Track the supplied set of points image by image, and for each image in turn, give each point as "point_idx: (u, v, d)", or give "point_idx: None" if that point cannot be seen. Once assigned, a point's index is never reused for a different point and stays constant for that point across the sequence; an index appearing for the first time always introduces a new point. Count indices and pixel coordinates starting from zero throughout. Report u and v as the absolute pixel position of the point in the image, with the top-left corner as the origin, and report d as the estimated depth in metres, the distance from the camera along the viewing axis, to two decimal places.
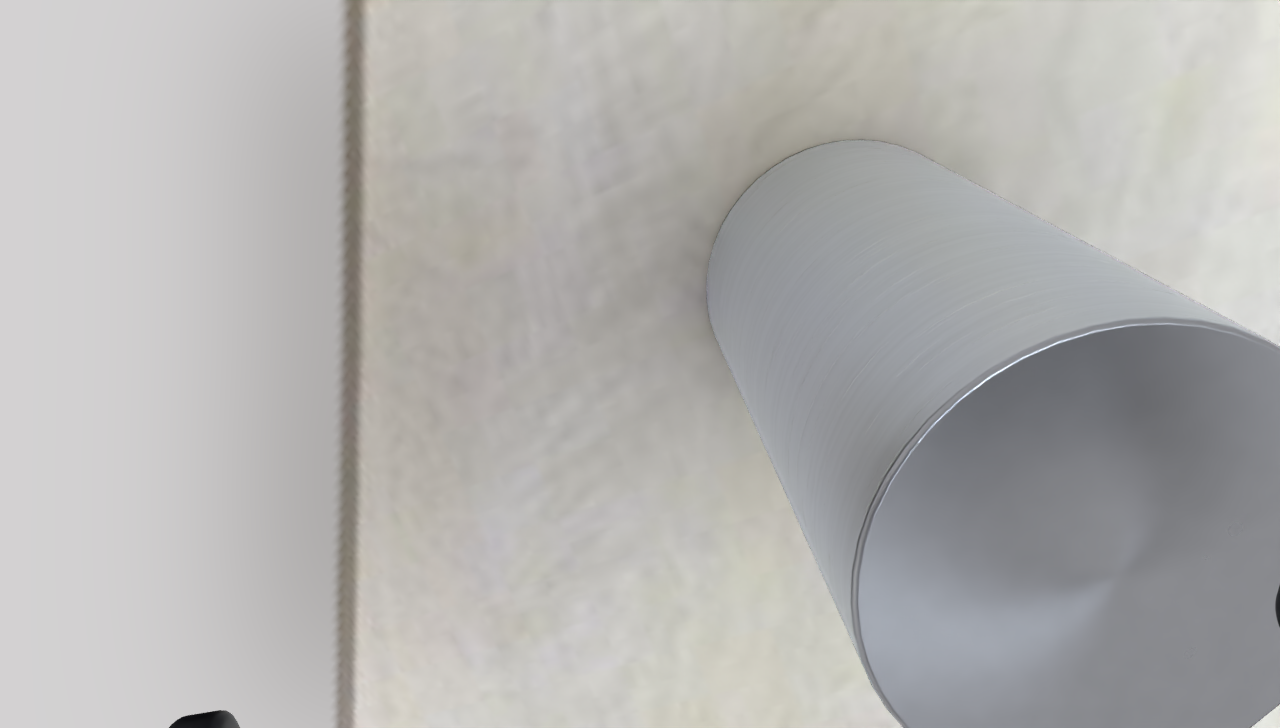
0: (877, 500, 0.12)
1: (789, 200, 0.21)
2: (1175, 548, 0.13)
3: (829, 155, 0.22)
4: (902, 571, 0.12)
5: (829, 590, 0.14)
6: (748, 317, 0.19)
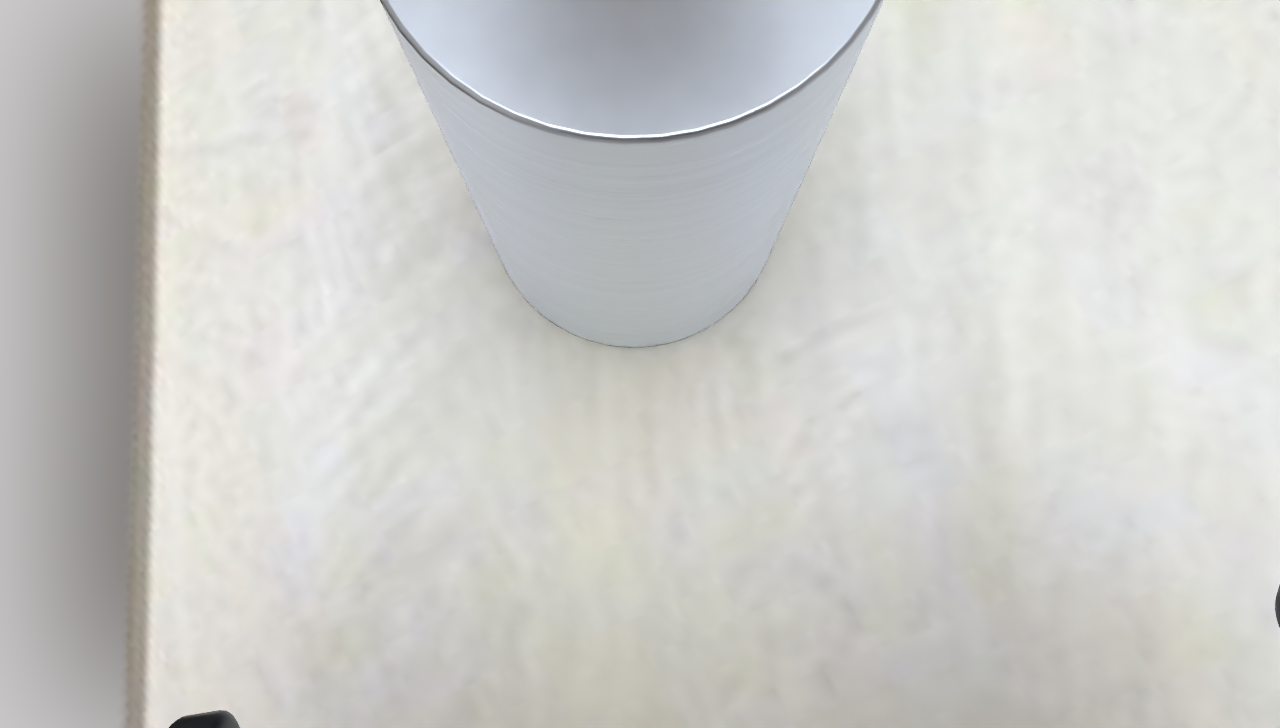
0: None
1: None
2: None
3: None
4: None
5: (410, 64, 0.14)
6: None
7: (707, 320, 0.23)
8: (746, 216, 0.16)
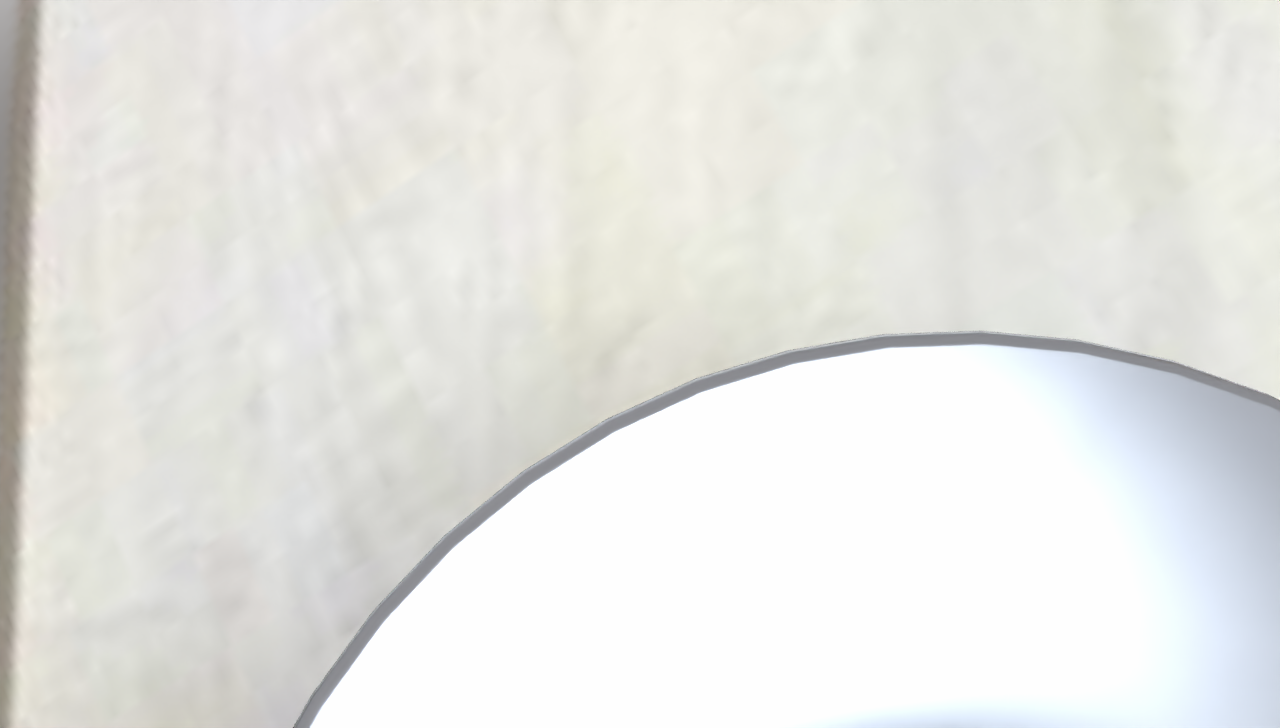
0: None
1: None
2: None
3: None
4: None
5: None
6: None
7: None
8: None
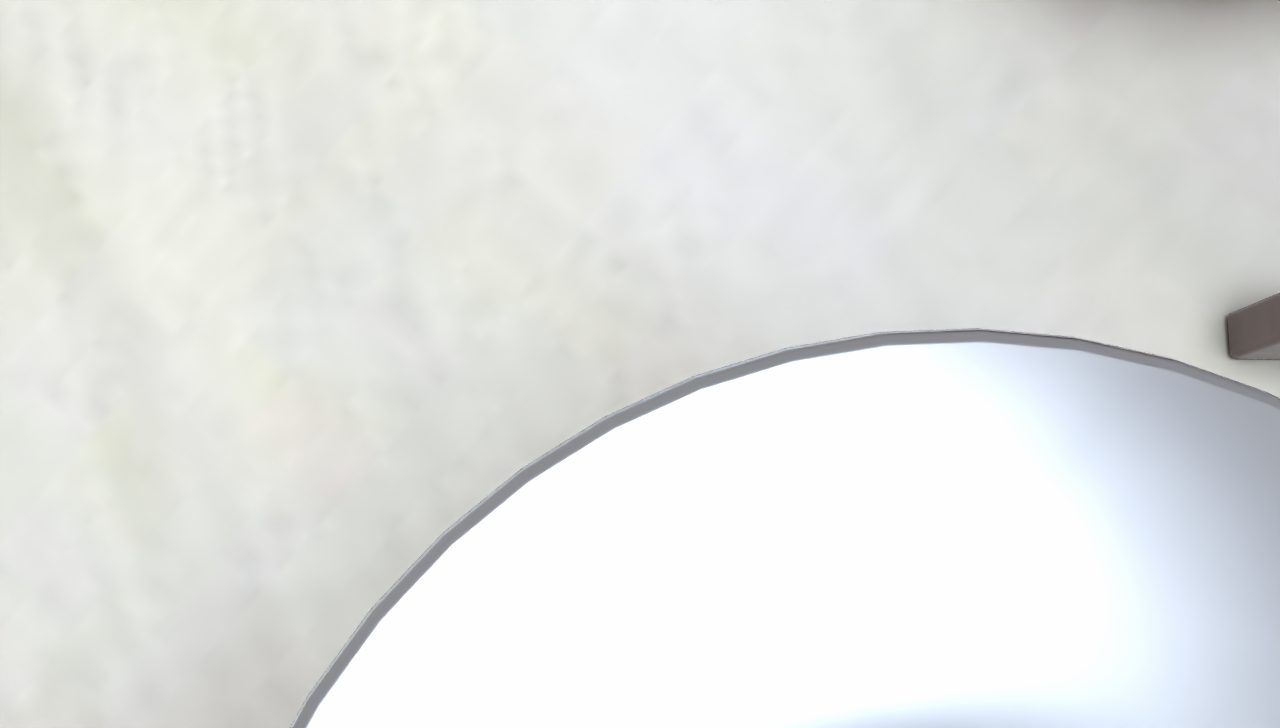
0: None
1: None
2: None
3: None
4: None
5: None
6: None
7: None
8: None
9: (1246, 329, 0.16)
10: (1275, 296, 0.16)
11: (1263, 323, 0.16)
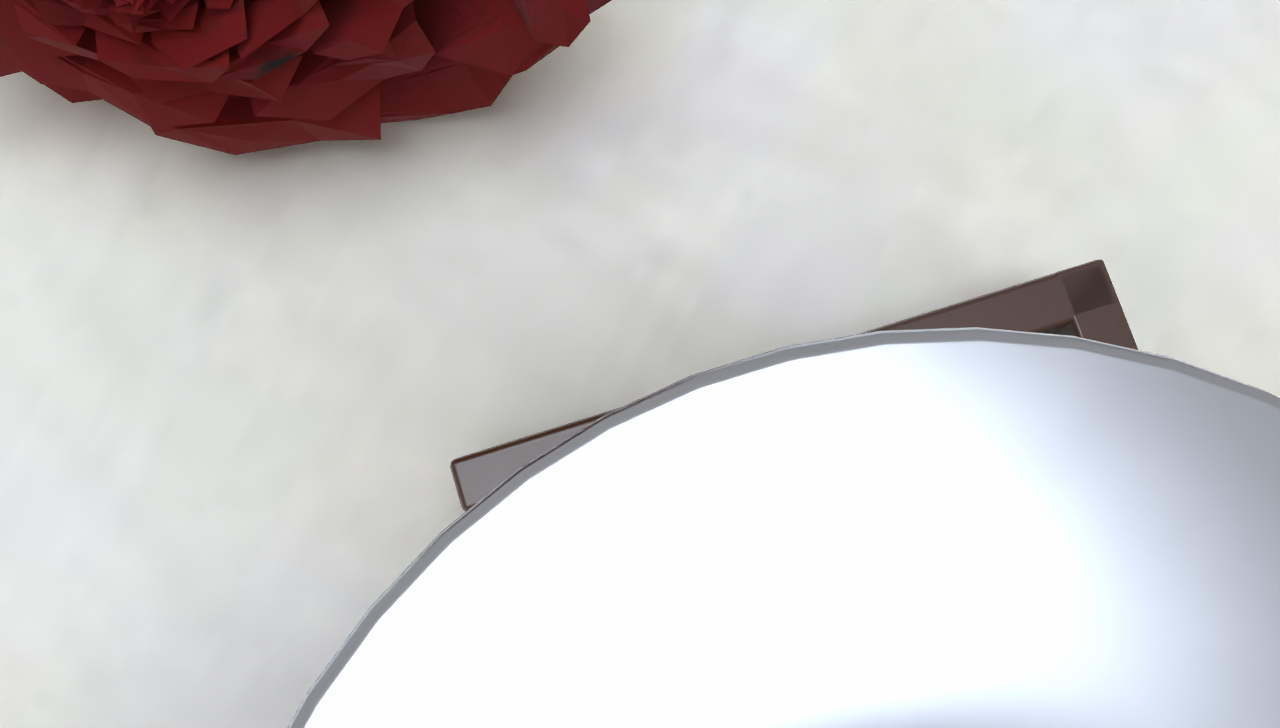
0: None
1: None
2: None
3: None
4: None
5: None
6: None
7: None
8: None
9: None
10: None
11: None
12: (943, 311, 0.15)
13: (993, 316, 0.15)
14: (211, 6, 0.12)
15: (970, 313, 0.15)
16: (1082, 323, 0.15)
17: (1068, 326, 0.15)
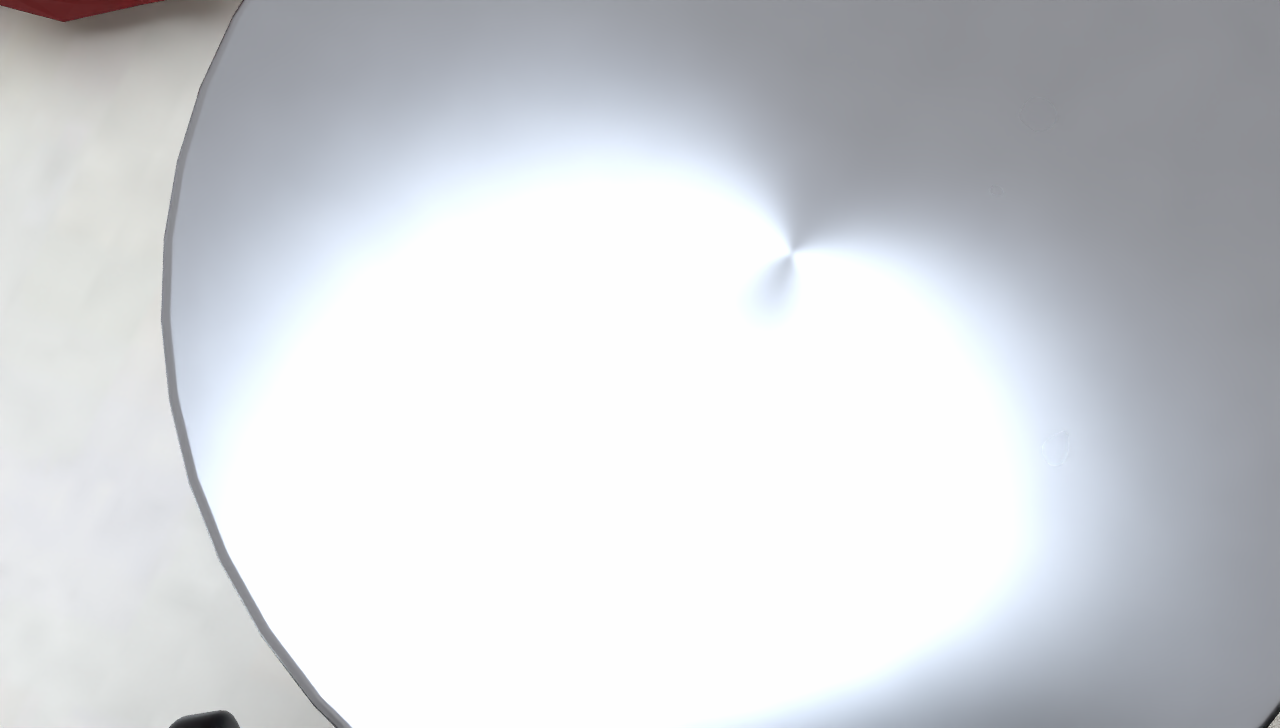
0: (186, 131, 0.06)
1: None
2: (909, 174, 0.05)
3: None
4: (270, 297, 0.05)
5: None
6: None
7: None
8: None
9: None
10: None
11: None
12: None
13: None
14: None
15: None
16: None
17: None
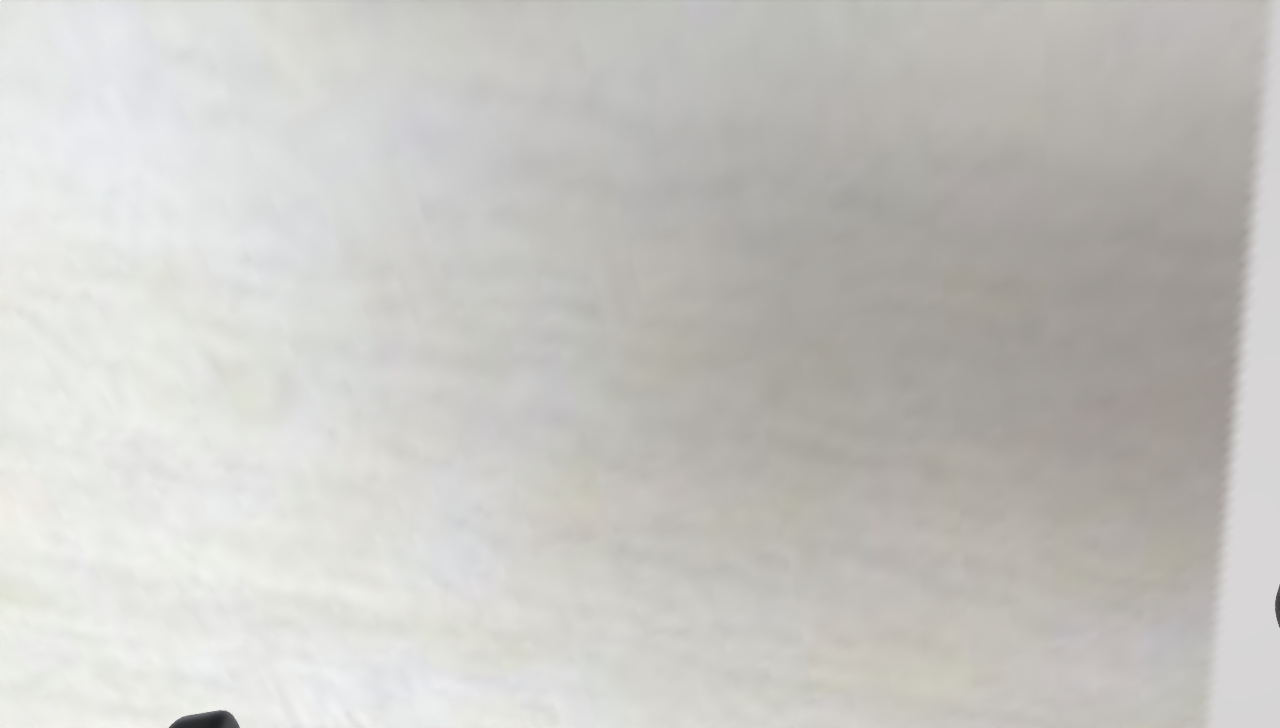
0: None
1: None
2: None
3: None
4: None
5: None
6: None
7: None
8: None
9: None
10: None
11: None
12: None
13: None
14: None
15: None
16: None
17: None
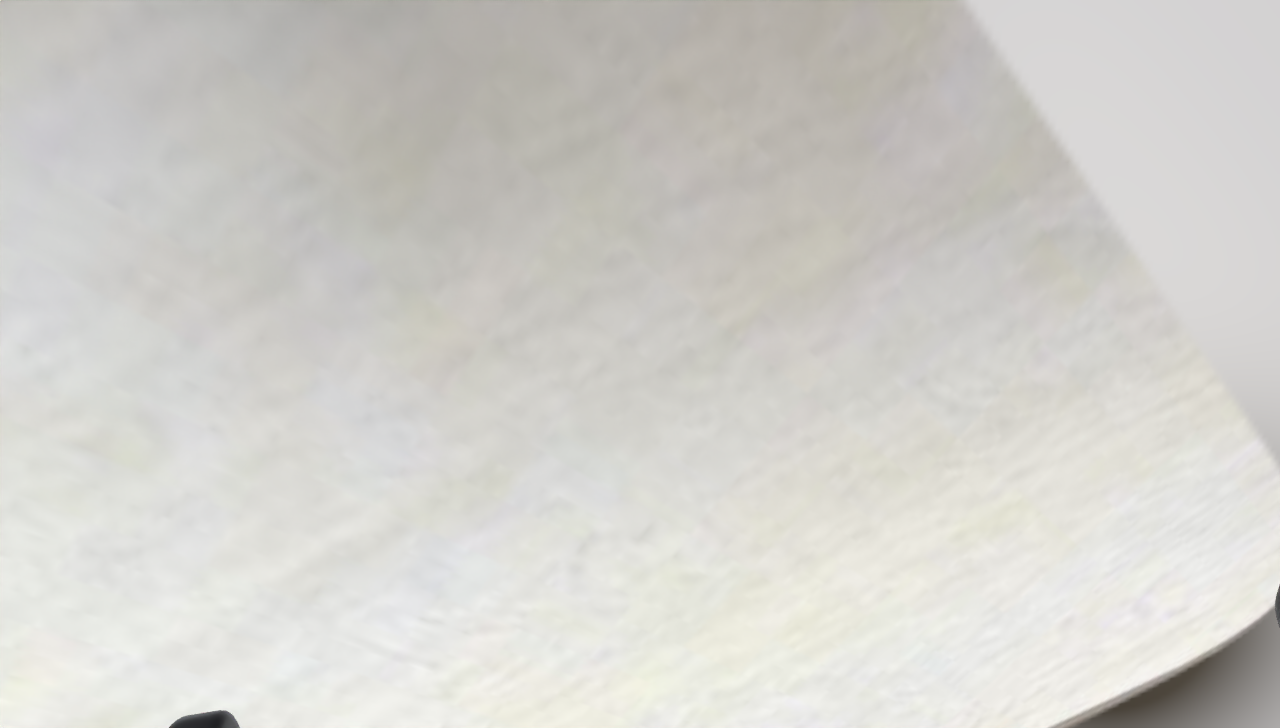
0: None
1: None
2: None
3: None
4: None
5: None
6: None
7: None
8: None
9: None
10: None
11: None
12: None
13: None
14: None
15: None
16: None
17: None
